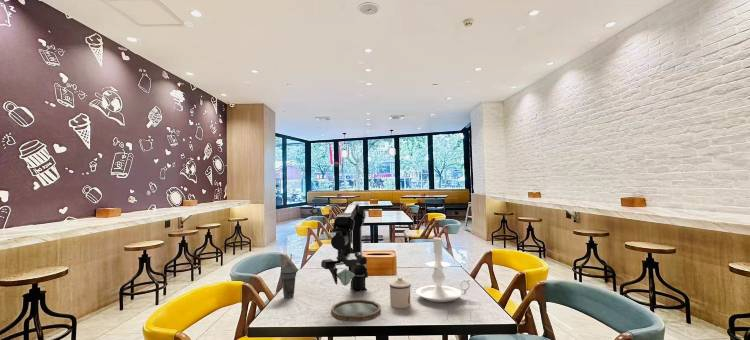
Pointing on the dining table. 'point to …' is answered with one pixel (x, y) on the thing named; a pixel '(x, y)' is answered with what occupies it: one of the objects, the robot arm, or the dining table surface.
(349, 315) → the round tray
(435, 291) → the candlestick
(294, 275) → the beverage cup
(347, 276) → the grey-green angular piece
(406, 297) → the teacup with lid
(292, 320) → the dining table surface
